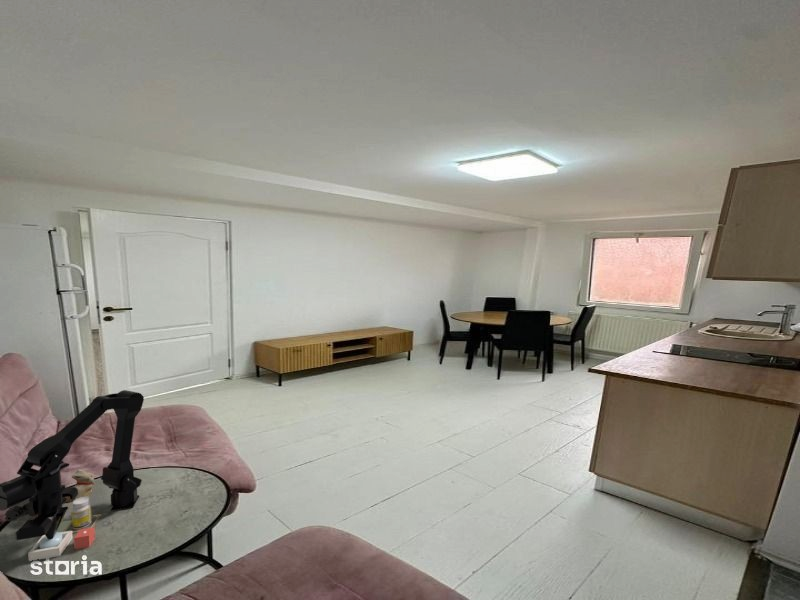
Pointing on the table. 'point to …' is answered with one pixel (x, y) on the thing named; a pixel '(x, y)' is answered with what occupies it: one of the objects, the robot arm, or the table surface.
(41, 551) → the tray
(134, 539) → the table surface
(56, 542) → the dome
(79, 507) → the supplement bottle
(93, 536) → the red die
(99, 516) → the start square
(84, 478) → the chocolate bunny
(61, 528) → the pad
